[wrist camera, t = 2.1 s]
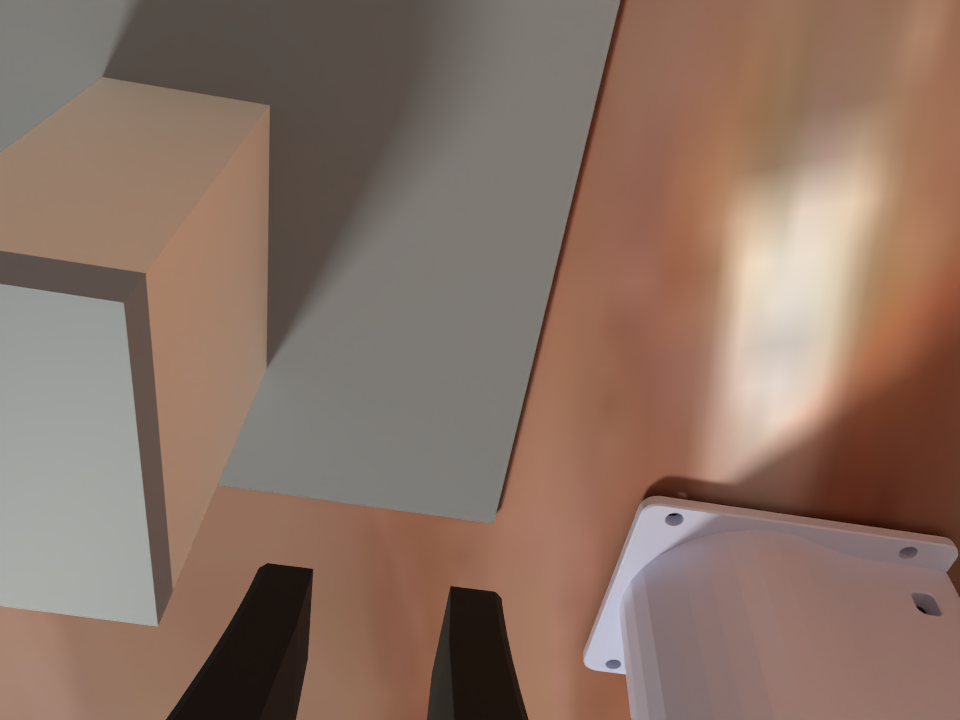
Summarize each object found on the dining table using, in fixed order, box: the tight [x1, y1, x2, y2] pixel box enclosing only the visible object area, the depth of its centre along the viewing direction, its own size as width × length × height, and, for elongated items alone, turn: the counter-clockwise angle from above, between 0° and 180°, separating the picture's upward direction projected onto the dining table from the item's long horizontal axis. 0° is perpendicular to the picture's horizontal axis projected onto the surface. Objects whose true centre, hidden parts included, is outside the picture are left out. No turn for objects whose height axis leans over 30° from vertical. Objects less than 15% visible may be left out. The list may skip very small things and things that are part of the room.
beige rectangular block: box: [0, 77, 270, 626], centre depth 16 cm, size 4×7×8 cm, turn 171°
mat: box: [0, 0, 620, 524], centre depth 20 cm, size 20×16×1 cm
